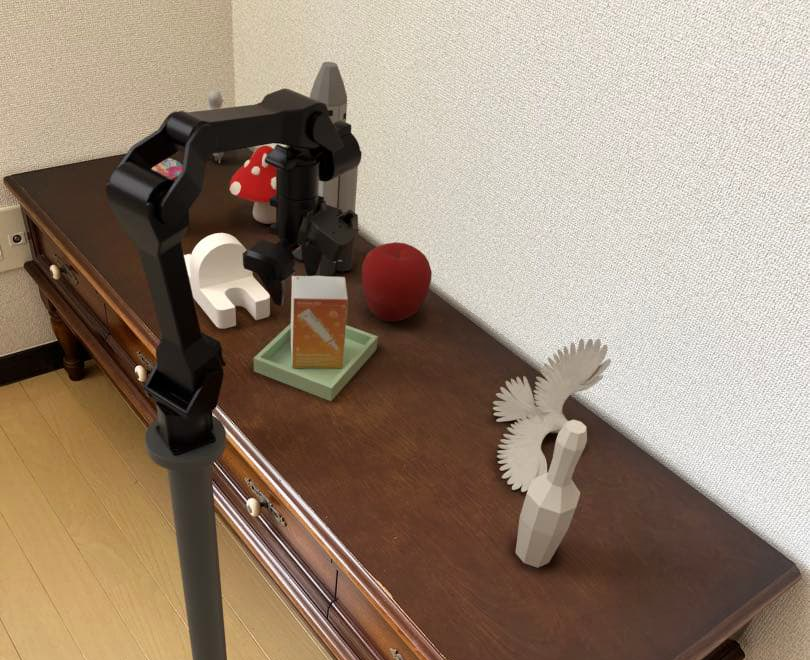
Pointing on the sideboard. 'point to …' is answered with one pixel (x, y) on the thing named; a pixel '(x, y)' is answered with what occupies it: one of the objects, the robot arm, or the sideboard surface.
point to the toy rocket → (344, 186)
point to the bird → (543, 408)
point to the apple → (395, 280)
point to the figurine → (215, 103)
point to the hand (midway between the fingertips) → (295, 290)
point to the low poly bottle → (551, 499)
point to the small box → (318, 321)
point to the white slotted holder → (224, 281)
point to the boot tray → (315, 380)
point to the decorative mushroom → (257, 185)
